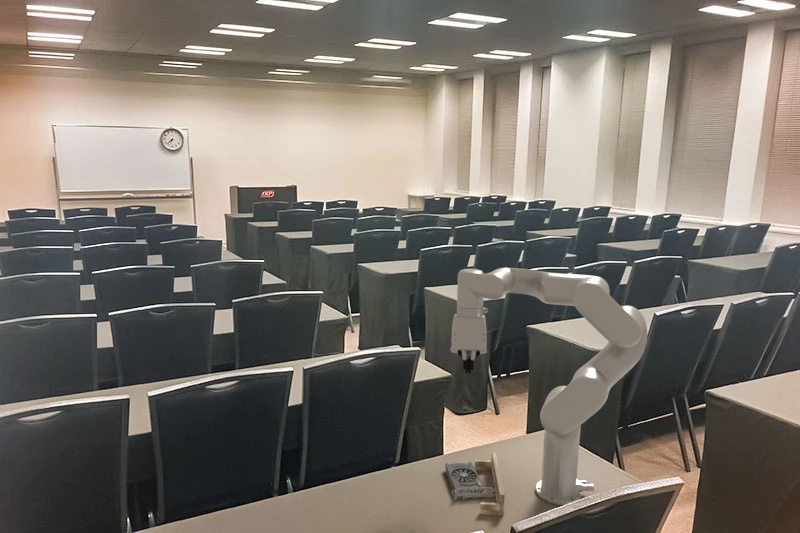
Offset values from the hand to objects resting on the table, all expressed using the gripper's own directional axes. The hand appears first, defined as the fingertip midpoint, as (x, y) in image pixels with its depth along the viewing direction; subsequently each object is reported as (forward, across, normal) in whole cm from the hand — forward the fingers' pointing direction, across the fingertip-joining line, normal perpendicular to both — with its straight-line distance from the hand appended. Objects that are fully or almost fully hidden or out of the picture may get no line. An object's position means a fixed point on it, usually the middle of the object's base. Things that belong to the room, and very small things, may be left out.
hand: (468, 371), depth 167 cm
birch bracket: (+32, -6, +10) cm, 34 cm away
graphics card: (+33, 0, +7) cm, 34 cm away
